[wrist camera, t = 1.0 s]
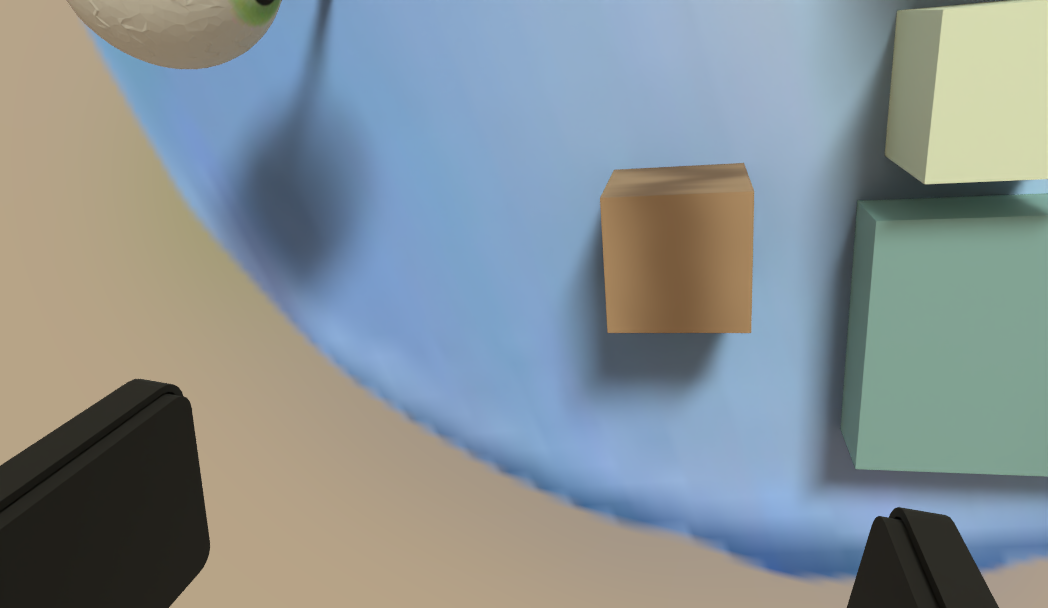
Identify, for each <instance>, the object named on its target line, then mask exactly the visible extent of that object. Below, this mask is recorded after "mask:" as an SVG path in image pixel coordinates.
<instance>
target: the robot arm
mask: <svg viewBox="0 0 1048 608" xmlns="http://www.w3.org/2000/svg"><path fill="white" fill-rule="evenodd" d="M209 551H210V540H209V532H208V525H207V518H206V511H205V503H204V496H203V488H202V481H201V474H200V467H199V459H198V452H197V444H196V437H195V431H194V422H193V415H192V408H191V404H190V401H189V400H188V399H187V398H186V397H183V394H182V391H181V390H180V389H179V387H177V386H175V385H173V384H167V383H161V382H155V381H150V380H144V379H134V380H132V381H130V382H127V383H126V384H124V385H123V386H121V387H120V388H118V389H117V390H115V391H114V392H112V393H111V394H109V395H108V396H106V397H105V398H103V399H101V400H100V401H99V402H97V403H95V404H94V405H92V406H91V407H89V408H88V409H86V410H85V411H83V412H82V413H80V414H79V415H77V416H75V417H74V418H72V419H71V420H70V421H68V422H66V423H65V424H63V425H62V426H60V427H59V428H57V429H56V430H54V431H53V432H51V433H50V434H48V435H47V436H45V437H43V438H42V439H40V440H39V441H37V442H36V443H34V444H33V445H31V446H30V447H28V448H27V449H25V450H24V451H22V452H20V453H19V454H18V455H16V456H14V457H13V458H11V459H10V460H8V461H7V462H5V463H4V464H3V465H1V466H0V608H169V607H170V605H171V604H172V603H173V602H174V601H175V600H176V599H177V598H178V596H179V595H180V594H181V593H182V592H183V591H184V590H185V588H186V587H187V586H188V585H189V584H190V583H191V582H192V580H193V579H194V578H195V577H196V576H197V575H198V574H199V572H200V571H201V570H202V568H203V567H204V565H205V563H206V561H207V558H208V555H209ZM847 608H999V607H998V605H997V603H996V601H995V599H994V597H993V596H992V594H991V592H990V590H989V588H988V586H987V584H986V582H985V580H984V579H983V577H982V575H981V573H980V571H979V569H978V567H977V565H976V563H975V562H974V560H973V558H972V556H971V554H970V552H969V550H968V548H967V546H966V544H965V543H964V541H963V539H962V537H961V535H960V533H959V531H958V529H957V527H956V526H955V524H954V522H953V521H952V519H951V518H950V517H948V516H946V515H942V514H936V513H930V512H924V511H918V510H912V509H906V508H900V507H897V508H895V509H894V510H893V511H892V512H891V514H890V516H889V518H887V517H882V516H878V517H876V518H875V520H874V522H873V524H872V527H871V530H870V533H869V536H868V540H867V543H866V546H865V550H864V553H863V556H862V560H861V563H860V566H859V569H858V573H857V576H856V579H855V583H854V586H853V589H852V593H851V596H850V599H849V602H848V606H847Z"/></svg>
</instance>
